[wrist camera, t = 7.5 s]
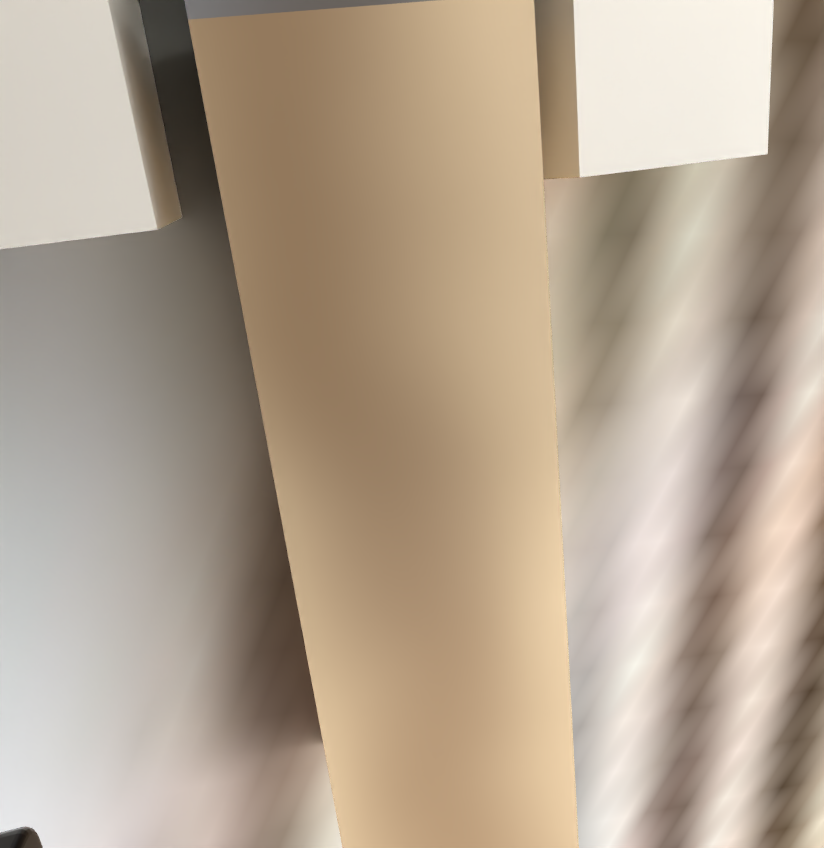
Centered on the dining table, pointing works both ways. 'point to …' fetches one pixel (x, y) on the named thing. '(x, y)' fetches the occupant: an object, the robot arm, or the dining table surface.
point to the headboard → (558, 96)
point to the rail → (406, 396)
